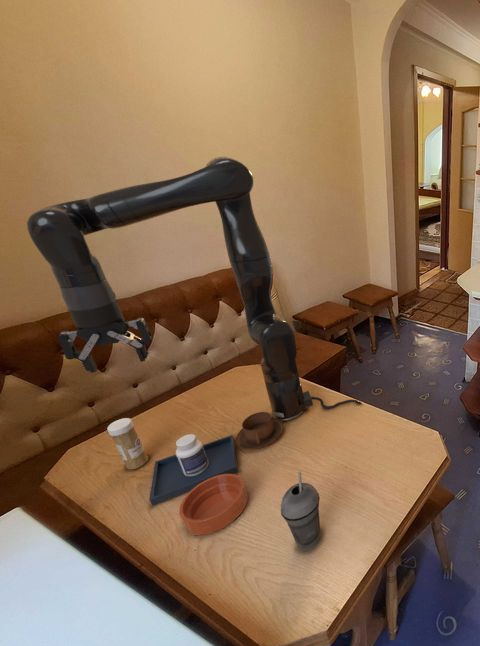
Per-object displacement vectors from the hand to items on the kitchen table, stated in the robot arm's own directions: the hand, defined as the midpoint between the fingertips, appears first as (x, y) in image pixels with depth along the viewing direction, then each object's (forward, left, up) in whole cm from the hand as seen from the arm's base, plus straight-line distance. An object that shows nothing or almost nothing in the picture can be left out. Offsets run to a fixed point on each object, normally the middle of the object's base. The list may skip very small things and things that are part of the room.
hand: (119, 365), depth 83 cm
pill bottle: (-8, +9, -30) cm, 32 cm away
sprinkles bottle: (+5, -2, -30) cm, 31 cm away
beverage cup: (-28, +44, -30) cm, 60 cm away
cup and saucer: (-23, +5, -30) cm, 39 cm away
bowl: (-12, +25, -30) cm, 41 cm away
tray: (-8, +9, -30) cm, 32 cm away
